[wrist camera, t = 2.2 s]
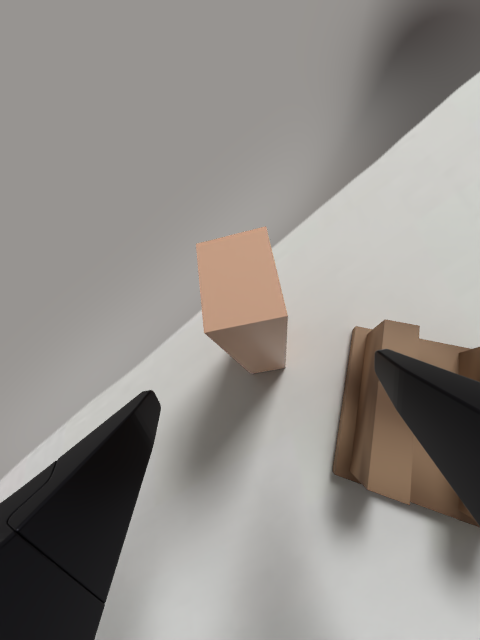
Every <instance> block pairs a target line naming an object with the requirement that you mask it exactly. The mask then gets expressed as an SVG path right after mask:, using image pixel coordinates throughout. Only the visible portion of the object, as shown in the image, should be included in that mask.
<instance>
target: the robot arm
mask: <svg viewBox="0 0 480 640" xmlns="http://www.w3.org/2000/svg"><path fill="white" fill-rule="evenodd" d="M374 370H375V373H376V375H377V377H378V379H379V381H380V382H381V384H382V386H383V388H384V389H385V391H386V393H387V395H388V396H389V398H390V400H391V402H392V403H393V405H394V407H395V408H396V410H397V412H398V413H399V415H400V416H401V417H402V419H403V420H404V422H405V423H406V424H407V426H408V427H409V429H410V430H411V431H412V433H413V434H414V436H415V437H416V438H417V440H418V441H419V442H420V444H421V445H422V447H423V448H424V449H425V451H426V452H427V454H428V455H429V456H430V458H431V459H432V461H433V462H434V463H435V465H436V466H437V468H438V469H439V470H440V472H441V473H442V475H443V476H444V477H445V479H446V480H447V481H448V483H449V484H450V486H451V487H452V488H453V490H454V491H455V493H456V494H457V495H458V497H459V498H460V500H461V501H462V502H463V504H464V505H465V507H466V508H467V509H468V511H469V512H470V513H471V515H472V516H473V518H474V519H475V520H476V522H477V523H478V525H479V526H480V382H478V381H476V380H473V379H470V378H467V377H465V376H462V375H459V374H456V373H453V372H451V371H448V370H445V369H442V368H440V367H437V366H434V365H431V364H429V363H426V362H423V361H420V360H417V359H415V358H412V357H409V356H406V355H404V354H401V353H398V352H395V351H393V350H390V349H382V350H377V351H375V354H374ZM160 411H161V406H160V403H159V401H158V399H157V397H156V395H155V393H154V391H152V390H149V391H143V392H141V393H140V394H139V395H138V396H136V397H135V398H134V399H133V400H131V401H130V402H129V403H128V404H126V405H125V406H124V407H123V408H121V409H120V410H119V411H118V412H116V413H115V414H114V415H112V416H111V417H110V418H109V419H107V420H106V421H105V422H104V423H102V424H101V425H100V426H99V427H97V428H96V429H95V430H94V431H92V432H91V433H90V434H89V435H87V436H86V437H85V438H84V439H82V440H81V441H80V442H79V443H77V444H76V445H75V446H74V447H72V448H71V449H70V450H69V451H67V452H66V453H65V454H64V455H62V456H61V457H60V458H59V459H58V460H57V461H55V462H53V463H52V464H51V465H50V466H48V467H47V468H46V469H45V470H43V471H42V472H41V473H40V474H38V475H37V476H36V477H34V478H33V479H32V480H31V481H29V482H28V483H27V484H25V485H24V486H23V487H21V488H20V489H19V490H17V491H16V492H15V493H13V494H12V495H11V496H9V497H8V498H7V499H5V500H4V501H3V502H1V503H0V640H94V639H95V635H96V632H97V629H98V626H99V622H100V619H101V616H102V613H103V609H104V606H105V604H104V603H105V602H106V599H107V596H108V592H109V589H110V586H111V583H112V579H113V576H114V573H115V570H116V566H117V563H118V560H119V556H120V553H121V550H122V547H123V543H124V540H125V537H126V534H127V530H128V527H129V524H130V521H131V517H132V514H133V511H134V507H135V504H136V501H137V498H138V494H139V491H140V488H141V485H142V481H143V478H144V475H145V472H146V468H147V465H148V462H149V459H150V455H151V452H152V448H153V445H154V440H155V436H156V431H157V426H158V421H159V416H160Z"/></svg>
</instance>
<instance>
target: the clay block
mask: <svg viewBox="0 0 480 640" xmlns="http://www.w3.org/2000/svg"><path fill="white" fill-rule="evenodd" d="M196 248H197V260H198V271H199V281H200V292H201V304H202V315H203V326H204V333H205V334H206V335H207V336H208V337H210V338H211V339H212V340H213V341H214V342H215V343H216V344H217V345H219V346H220V347H221V348H222V349H223V350H224V351H225V352H227V353H228V354H229V355H230V356H231V357H232V358H233V359H235V360H236V361H237V362H238V363H239V364H240V365H241V366H243V367H244V368H245V369H246V370H247V371H248V372H249V373H250V374H254V373H260V372H266V371H271V370H277V369H283V368H285V365H286V343H287V321H288V315H287V311H286V307H285V303H284V299H283V294H282V290H281V286H280V282H279V278H278V274H277V270H276V266H275V262H274V257H273V253H272V249H271V246H270V241H269V237H268V233H267V229H266V227H262V228H258V229H254V230H250V231H246V232H242V233H238V234H234V235H230V236H226V237H222V238H218V239H214V240H210V241H206V242H202V243H198V244H196Z"/></svg>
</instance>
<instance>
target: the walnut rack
mask: <svg viewBox="0 0 480 640" xmlns="http://www.w3.org/2000/svg"><path fill="white" fill-rule="evenodd" d="M419 327H420V326H418V325H412V324H407V323H401V322H396V321H390V320H384V321H383V322H381V323H380V324H379V325H378V326H376V327H375V328H374V329H373V330H372V329H367V328H362V327H357V326H356V327H355V328H354V329H353V333H352V340H351V347H350V354H349V361H348V368H347V375H346V382H345V388H344V395H343V402H342V409H341V416H340V423H339V430H338V437H337V444H336V451H335V458H334V464H333V473H334V474H335V475H338V476H340V477H343V478H346V479H349V480H351V481H354V482H357V483H360V484H362V485H363V486H364V487H365V488H366V489H367V490H370V491H372V492H375V493H378V494H381V495H383V496H386V497H389V498H391V499H394V500H397V501H400V502H402V503H405V504H408V505H410V502H412V503H414V504H417V505H420V506H423V507H425V508H428V509H431V510H434V511H436V512H439V513H442V514H445V515H447V516H450V517H453V518H456V519H458V520H461V521H464V522H467V523H469V524H472V525H475V526H478V527H480V526H479V525H478V523H477V522H476V520H475V519H474V518H473V516H472V515H471V513H470V512H469V511H468V509H467V508H466V507H465V505H464V504H463V502H462V501H461V500H460V498H459V497H458V495H457V494H456V493H455V491H454V490H453V488H452V487H451V486H450V484H449V483H448V481H447V480H446V479H445V477H444V476H443V475H442V473H441V472H440V470H439V469H438V468H437V466H436V465H435V463H434V462H433V461H432V459H431V458H430V456H429V455H428V454H427V452H426V451H425V449H424V448H423V447H422V445H421V444H420V442H419V441H418V440H417V438H416V437H415V436H414V434H413V433H412V431H411V430H410V429H409V427H408V426H407V424H406V423H405V422H404V420H403V419H402V417H401V416H400V415H399V413H398V412H397V410H396V408H395V407H394V405H393V403H392V402H391V400H390V398H389V396H388V395H387V393H386V391H385V389H384V388H383V386H382V384H381V382H380V381H379V379H378V377H377V375H376V373H375V370H374V354H375V351H377V350H382V349H390V350H393V351H395V352H398V353H401V354H404V355H406V356H409V357H412V358H415V359H417V360H420V361H423V362H426V363H429V364H431V365H434V366H437V367H440V368H442V369H445V370H448V371H451V372H453V373H456V374H459V375H462V376H465V377H467V378H470V379H473V380H476V381H478V382H480V347H478V348H474V349H469V348H464V347H459V346H454V345H449V344H444V343H439V342H433V341H428V340H423V339H419Z"/></svg>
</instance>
